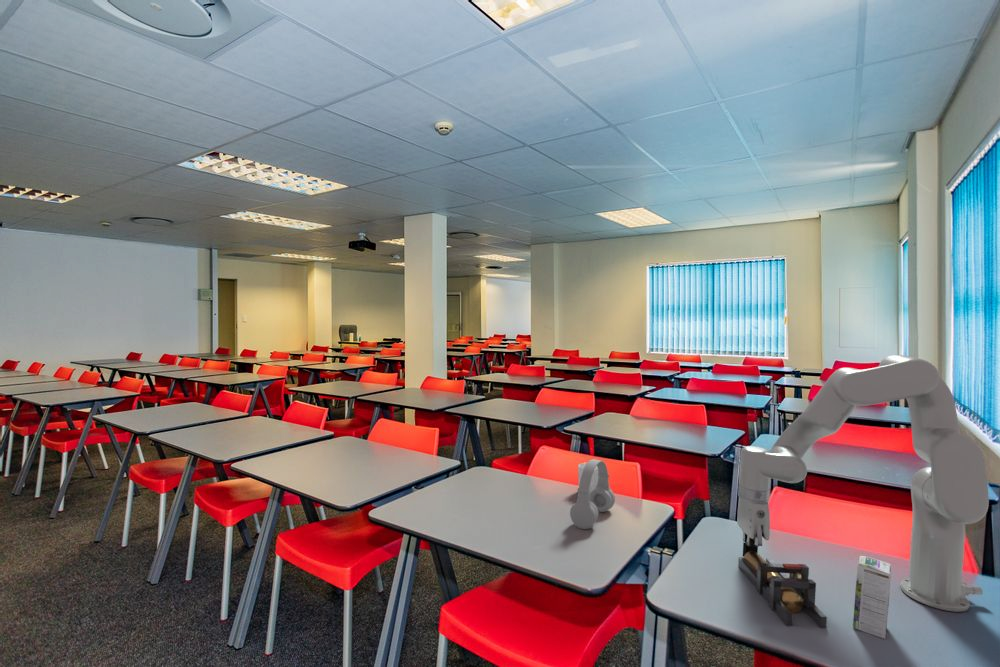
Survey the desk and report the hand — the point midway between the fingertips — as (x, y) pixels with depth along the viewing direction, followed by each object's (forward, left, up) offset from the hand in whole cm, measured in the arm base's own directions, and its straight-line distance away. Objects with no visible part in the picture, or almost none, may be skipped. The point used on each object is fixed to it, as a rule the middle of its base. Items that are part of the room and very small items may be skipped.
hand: (749, 558), depth 133 cm
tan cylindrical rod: (0, +12, -1) cm, 12 cm away
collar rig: (0, +15, -1) cm, 15 cm away
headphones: (+40, -24, -2) cm, 46 cm away
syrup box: (-14, +26, -1) cm, 30 cm away
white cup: (+39, -47, -1) cm, 61 cm away
